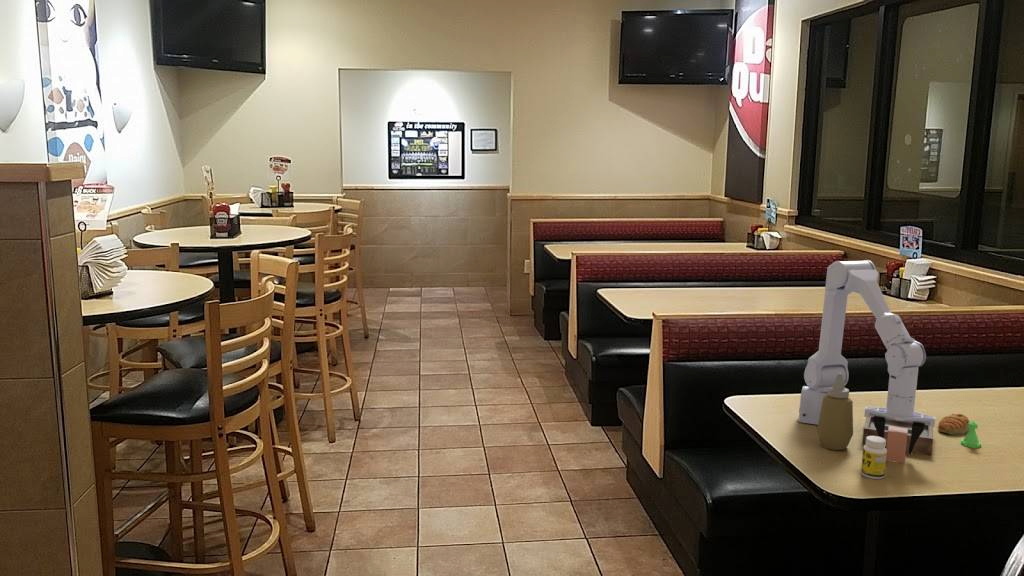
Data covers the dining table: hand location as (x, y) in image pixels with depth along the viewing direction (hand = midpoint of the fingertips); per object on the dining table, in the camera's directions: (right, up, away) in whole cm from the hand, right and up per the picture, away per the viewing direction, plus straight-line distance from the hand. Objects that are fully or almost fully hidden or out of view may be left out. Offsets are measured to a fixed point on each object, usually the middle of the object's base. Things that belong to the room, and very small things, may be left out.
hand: (895, 450), depth 188 cm
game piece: (+23, -1, +10) cm, 25 cm away
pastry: (+24, +1, +20) cm, 32 cm away
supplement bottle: (-9, -4, -9) cm, 14 cm away
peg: (0, -2, 0) cm, 2 cm away
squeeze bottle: (-11, -1, +8) cm, 14 cm away
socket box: (+6, 0, +13) cm, 14 cm away
